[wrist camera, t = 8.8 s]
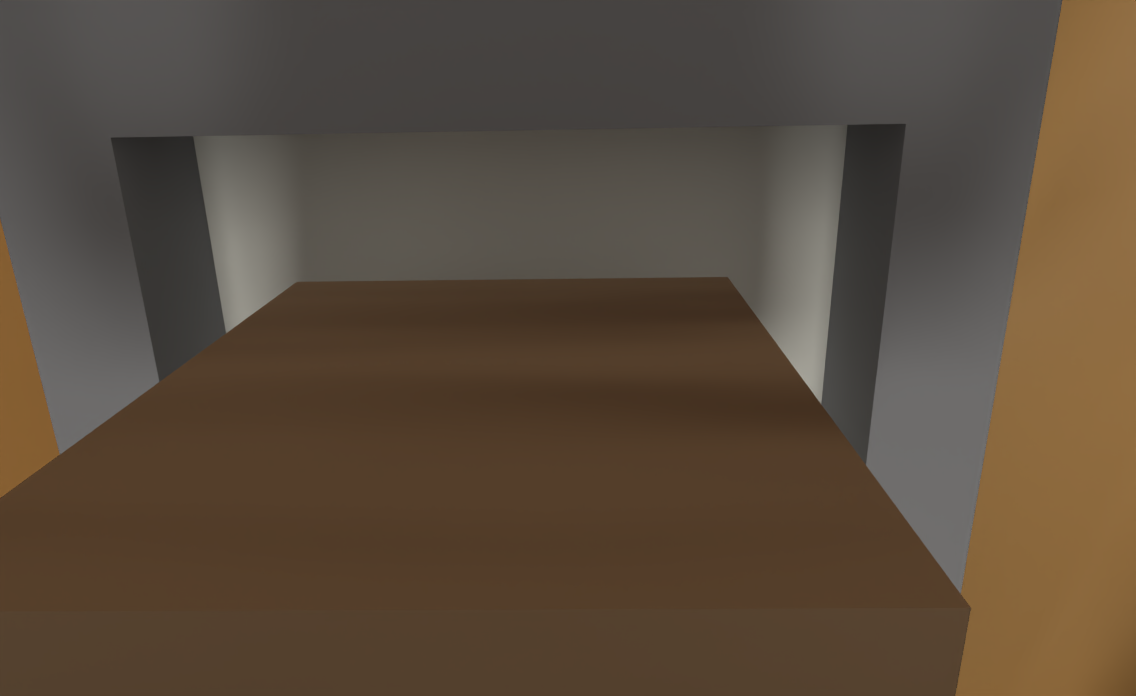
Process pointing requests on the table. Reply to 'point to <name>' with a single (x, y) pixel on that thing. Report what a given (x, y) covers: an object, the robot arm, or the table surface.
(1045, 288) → the table surface
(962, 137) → the bay frame
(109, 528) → the two-stud toy brick
